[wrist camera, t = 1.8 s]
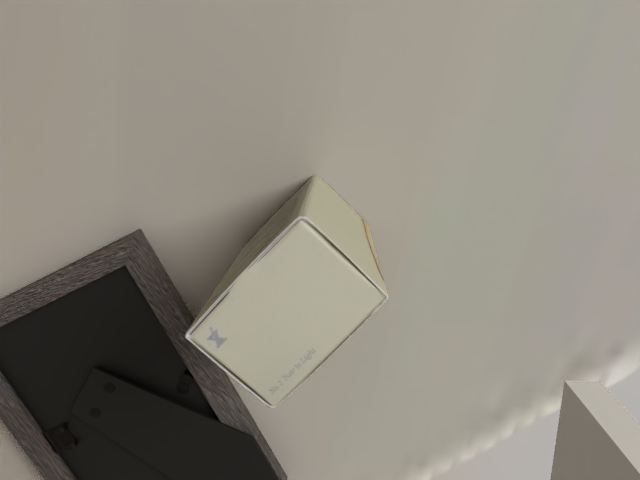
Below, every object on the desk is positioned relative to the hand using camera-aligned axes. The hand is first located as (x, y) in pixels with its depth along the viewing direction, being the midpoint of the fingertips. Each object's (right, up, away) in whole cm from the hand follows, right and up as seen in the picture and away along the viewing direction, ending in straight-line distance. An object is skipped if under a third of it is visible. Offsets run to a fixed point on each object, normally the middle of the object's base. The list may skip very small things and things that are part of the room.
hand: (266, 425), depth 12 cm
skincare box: (0, +4, +18) cm, 19 cm away
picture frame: (-11, -6, +22) cm, 25 cm away
